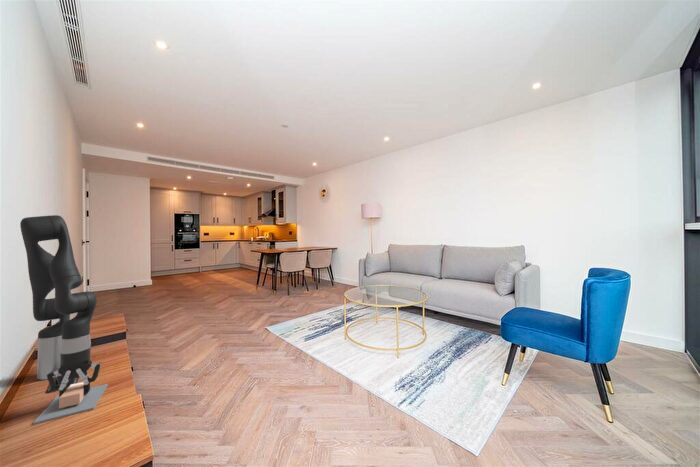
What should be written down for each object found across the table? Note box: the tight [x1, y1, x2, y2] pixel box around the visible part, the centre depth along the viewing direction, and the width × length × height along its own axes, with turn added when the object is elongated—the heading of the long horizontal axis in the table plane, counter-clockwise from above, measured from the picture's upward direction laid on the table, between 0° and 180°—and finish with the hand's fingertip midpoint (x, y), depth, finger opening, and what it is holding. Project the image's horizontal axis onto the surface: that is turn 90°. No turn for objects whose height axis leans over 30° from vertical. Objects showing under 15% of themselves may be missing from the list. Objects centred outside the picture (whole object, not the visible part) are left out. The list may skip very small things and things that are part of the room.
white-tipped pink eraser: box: [59, 381, 85, 408], centre depth 94 cm, size 10×5×4 cm, turn 31°
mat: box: [32, 383, 109, 426], centre depth 94 cm, size 18×14×1 cm
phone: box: [47, 375, 80, 394], centre depth 108 cm, size 8×1×15 cm
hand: (75, 396), depth 94 cm, fingers closed on white-tipped pink eraser, 5 cm apart
